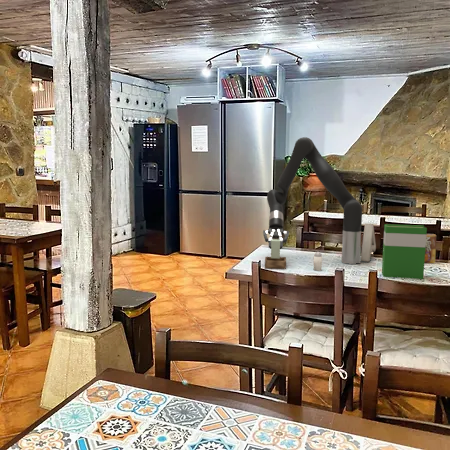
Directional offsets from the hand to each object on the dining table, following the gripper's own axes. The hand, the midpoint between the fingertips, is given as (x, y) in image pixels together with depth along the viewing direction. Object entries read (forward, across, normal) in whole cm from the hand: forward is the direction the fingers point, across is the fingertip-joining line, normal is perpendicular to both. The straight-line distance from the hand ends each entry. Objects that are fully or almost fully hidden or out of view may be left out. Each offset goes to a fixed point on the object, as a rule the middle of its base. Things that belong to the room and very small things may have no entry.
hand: (275, 248), depth 230 cm
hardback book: (+14, +60, 0) cm, 62 cm away
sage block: (+3, 0, +4) cm, 5 cm away
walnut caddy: (+6, 0, +8) cm, 10 cm away
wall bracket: (-16, +53, +31) cm, 64 cm away
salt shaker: (+9, +21, +5) cm, 24 cm away
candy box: (-7, +80, +21) cm, 83 cm away
